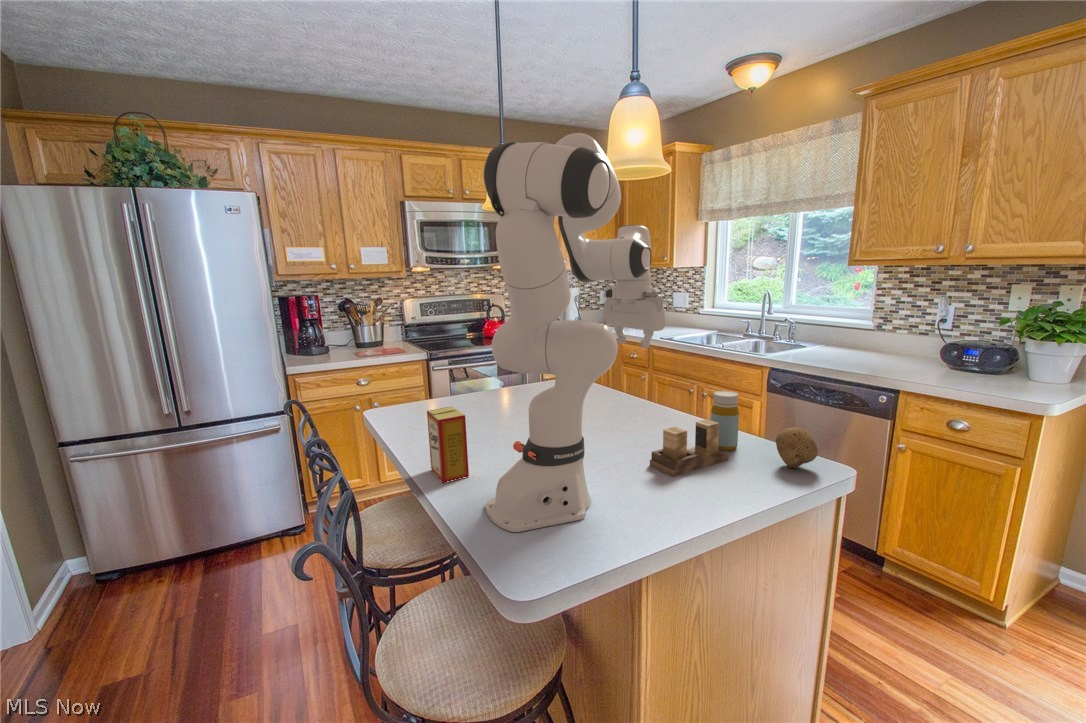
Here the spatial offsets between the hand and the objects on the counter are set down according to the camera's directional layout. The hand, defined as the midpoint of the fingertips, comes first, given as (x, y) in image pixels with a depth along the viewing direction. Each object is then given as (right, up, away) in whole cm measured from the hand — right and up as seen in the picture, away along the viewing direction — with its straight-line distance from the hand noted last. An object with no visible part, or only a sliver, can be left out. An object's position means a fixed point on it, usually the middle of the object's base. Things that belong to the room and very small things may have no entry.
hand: (633, 345), depth 126 cm
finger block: (+9, -29, -6) cm, 31 cm away
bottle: (+26, -28, +7) cm, 39 cm away
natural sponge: (+38, -30, -8) cm, 49 cm away
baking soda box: (-47, -32, -5) cm, 57 cm away
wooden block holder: (+14, -30, -3) cm, 33 cm away
